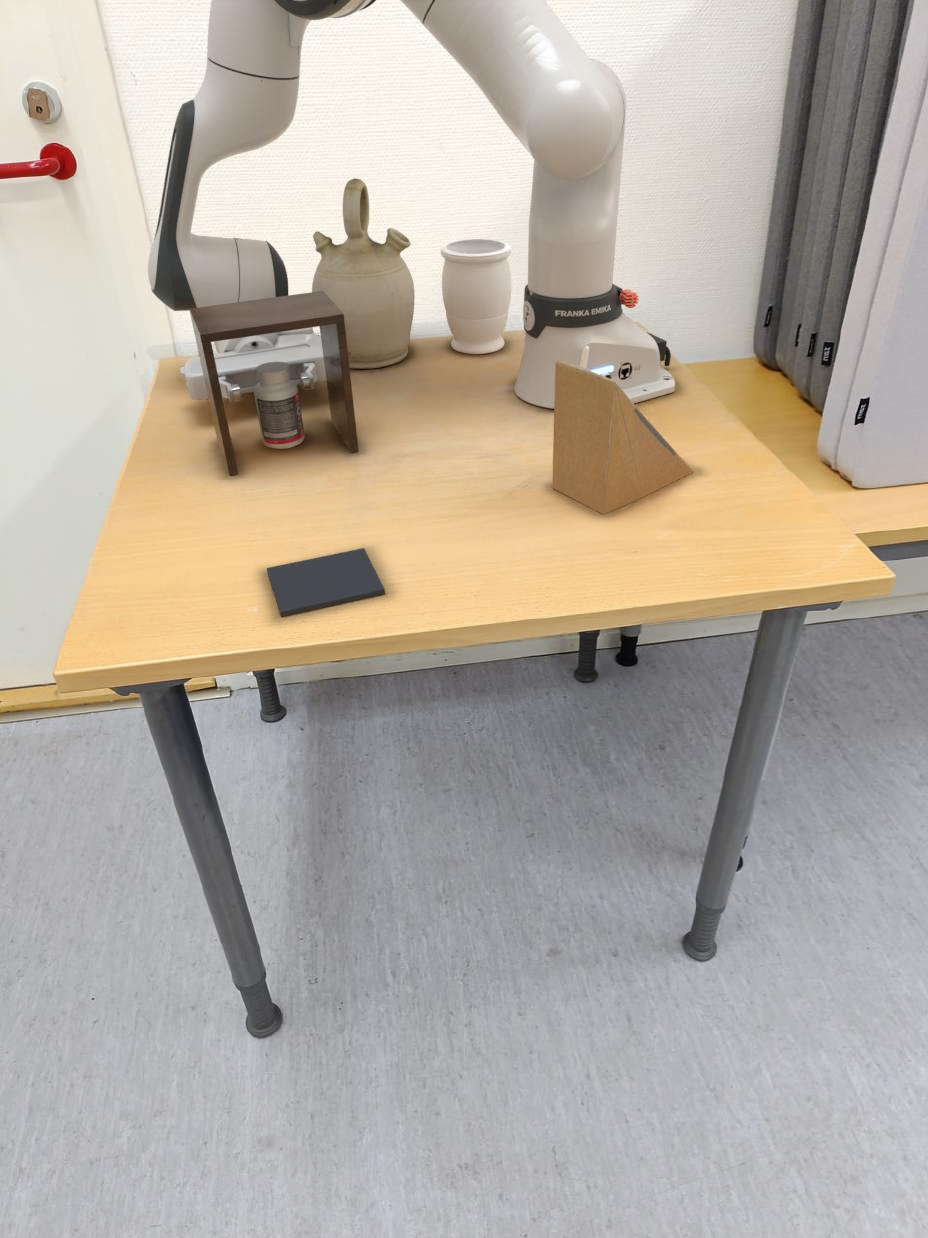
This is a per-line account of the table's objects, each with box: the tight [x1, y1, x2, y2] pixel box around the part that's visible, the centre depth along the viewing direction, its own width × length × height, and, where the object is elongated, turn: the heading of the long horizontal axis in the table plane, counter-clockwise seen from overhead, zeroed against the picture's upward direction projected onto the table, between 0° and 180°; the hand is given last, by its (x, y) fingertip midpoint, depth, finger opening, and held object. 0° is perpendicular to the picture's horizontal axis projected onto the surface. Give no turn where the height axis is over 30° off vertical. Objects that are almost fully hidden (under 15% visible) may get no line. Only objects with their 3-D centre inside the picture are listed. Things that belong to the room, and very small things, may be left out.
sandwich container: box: [552, 360, 695, 515], centre depth 95 cm, size 9×15×15 cm, turn 129°
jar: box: [440, 238, 512, 355], centre depth 133 cm, size 11×10×15 cm
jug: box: [311, 177, 415, 370], centre depth 128 cm, size 15×16×25 cm
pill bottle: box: [253, 362, 306, 450], centre depth 108 cm, size 5×5×10 cm
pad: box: [266, 547, 386, 618], centre depth 84 cm, size 10×8×1 cm
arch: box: [189, 291, 360, 477], centre depth 104 cm, size 10×16×17 cm, turn 111°
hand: (272, 389), depth 110 cm, fingers open, 8 cm apart
